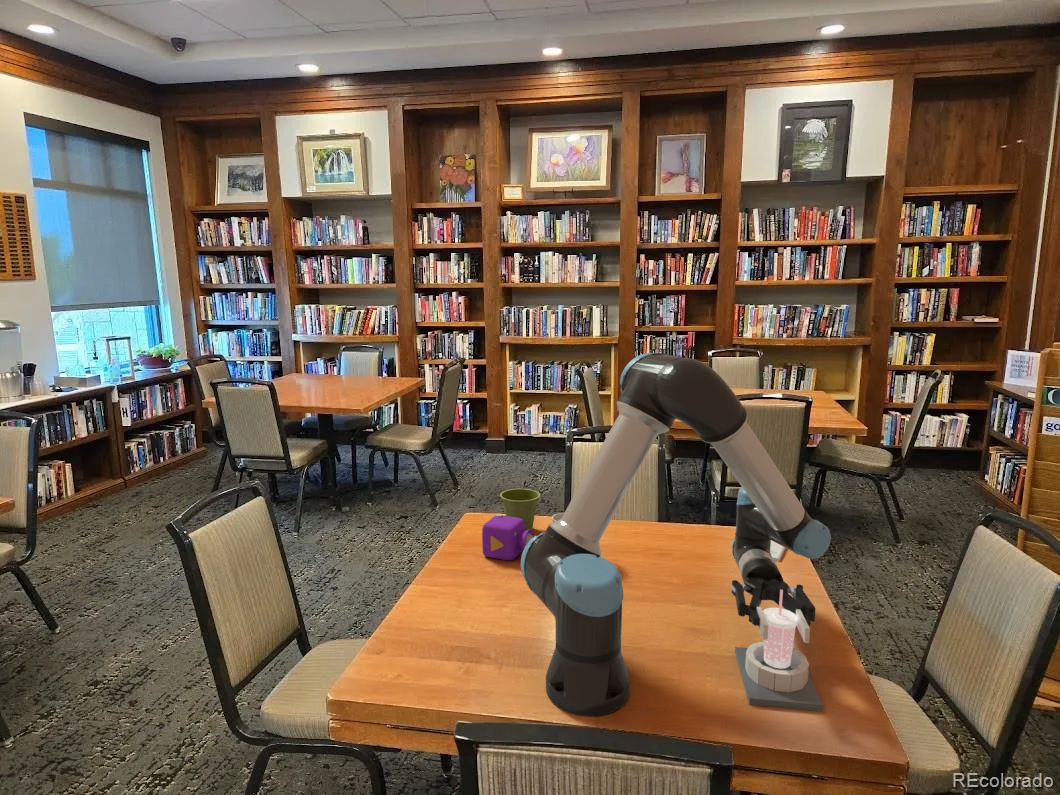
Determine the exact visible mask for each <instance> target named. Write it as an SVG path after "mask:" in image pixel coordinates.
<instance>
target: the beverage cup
mask: <svg viewBox="0 0 1060 795" xmlns="http://www.w3.org/2000/svg"><path fill="white" fill-rule="evenodd" d="M782 597H783V590H782V589H781V590H780V600H779V605H778V607H768V608H765V609H764V610H763V609H762V610H763V613H764V616H765V618H766V621H767V623H768V640H763V642H764V661H765V662H766V663H767V664H768V665H770V666H772V667H774V668H787V667H789V666H790V664H791V656H792V649H793V648H794V642H795V634H796V628H797V625H798V624H797V622H798V617H797V616H796V615H795V614H794V613H793V612H791V611H789V610H786V609H785V608H783V606H782Z"/></svg>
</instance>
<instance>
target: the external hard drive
mask: <svg viewBox="0 0 1060 795" xmlns="http://www.w3.org/2000/svg"><path fill="white" fill-rule="evenodd" d="M785 550H786V548H785V547H783V546H781V545H779V544H778V543H776V542H774V541H772V540H771V547H770V553H771V556H772V558H773V560H774V561H775V562H777V561H779V562H780V560H781V559H782V557H783V555H784V552H785Z"/></svg>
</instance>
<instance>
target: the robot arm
mask: <svg viewBox="0 0 1060 795" xmlns="http://www.w3.org/2000/svg"><path fill="white" fill-rule="evenodd" d="M619 385H620V393H621V394H620V397H619V398H618V400H617V402H616V406H617V409H618V415H617V418H616V419H615V421H614V424H612V427H611V428H610V430H609V432H608V434H607V436H606V437H605V439H604V441H603V443H602V444H601V446H600V448H599V450H598V452H597V454H596V455H595V457H594V458H593V461H592V463H591V464H590V466H589V468H588V470H587V471H586V473H585V475H584V477H583V479H582V481H581V482H580V484H579V486H578V488H577V490H576V491H575V493H574V495H573V496H572V498H571V500H570V502H569V504H568V505H567V507H566V510H565V511H564V512H563V513H564V515H563V517H562V518H561V519H560V520H558V521H555V522H553V521H552V522H550V523H549V524H548V526H547V528H546V529H545V531H544V532H541V533H540V534H538V535H534V537H533V538H532V539H531V540H530V541H529V542H528V543H527V545H526V546H525V548H524V550H523V551H522V552H521V558H520V570H521V575H522V577H523V580H524V581H525V583H526V584H527V586H528V589H529V590H530V591H531V592H532V593H533V594H534V595H535V596H536V597H537V598H538V599H539V600H540V602H541V603H543V605H544V606H545V607H546V608H547V609H548V610H549V612H550V613H551V614H552V615H553V616H554V620H555V646H554V647H555V648H554V650H553V653H552V656H551V660H550V661H549V662H550V663H549V664H548V667H547V670H546V674H545V692H546V695H547V697H548V699H549V700H550V701H551V702H552V703H553V704H554V705H555V706H557V707H558V708H559V709H560V710H562V711H563V710H564V711H565V712H568V713H570V714H574V715H577V716H584V717H585V716H586V717H598V716H605V715H609V714H611V713H614V712H616V711H619V710H620V709H621V708H622V707H623V706H625V705H626V703H627V702H628V701H629V698H630V695H631V679H630V674H629V672H628V668H627V665H626V661H625V659H624V655H623V653H622V622H623V621H622V620H623V599H624V588H623V580H622V579H623V578H622V575H621V572H620V570H619V569H618V567H617V566H616V565H615V564H614V563H613V562H612V561H610V560H609V559H607V558H604V557H602V556H601V555H602V549H601V545H600V542H601V538H602V537H603V536H604V533H605V531H606V530H607V528H608V526H609V524H610V523H611V521H612V518H613V517H614V516H615V513H616V511H617V510H618V508H619V506H620V504H621V503H622V501H623V499H624V497H625V495H626V494H627V492H628V489H629V488H630V486H631V484H632V482H633V481H634V478H635V477H636V476H637V473H638V472H639V470H640V468H641V466H642V465H643V462H644V461H645V459H646V457H647V456H648V453H649V451H650V450H651V448H652V446H653V444H654V442H655V441H656V439H657V437H658V436H659V435H660V434H665V433H668V432H670V430H671V428H672V426H673V424H674V422H675V420H678V421H680V422H681V423H683V424H685V425H687V426H688V427H690V428H691V429H692V430H693V431H694V432H695V433H696V434H697V435H698V437H699V438H700V440H701V441H702V442H704V443H707V444H711V446H712V447H713V449H714V450H715V451H716V452H717V454H718V456H719V457H720V458H721V459H722V461H723V462H724V464H725V465H726V467H727V468H728V469H729V471H730V472H731V474H732V476H734V478H735V479H736V481H737V482H738V483H739V485H740V486H741V487H740V488H739V489H738V492H737V500H736V516H735V517H736V518H735V522H736V523H735V533H734V535H735V536H734V538H733V539H732V542H731V553H732V556H733V559H734V560H735V562H736V565H737V568H738V569H739V570H738V571H739V574H740V576H741V578H742V579H741V580H742V582H743V583H742V582H739V580H734V579H733V580H732V581H731V594H732V595H733V596H734V597H735V602H736V603H735V604H736V608H737V610H736V611H737V614H738V616H739V617H745V616H748V622H749V623H751V624H752V625H753V626H757V627H758V630H759V633H760V635H761V637H762V638H761V639H762V641H764V640H768V623H767V621H766V618H765V616H764V613H763V608H762V607H761V606H760V605H761V604H762V601H773V602H774V603H775V604H777V606H779V600H780V590H781V589H782V590H783V597H782V608H783V609H786V610H789V611H791V612H793V613H794V614H795V615H796V616H797V617H798V622H797V624H798V625H797V626H796V628H797V630H798V633H799V634H800V637H801V639H802V641H803V643H805V644H810V637H811V636H810V634H811V625H812V624H811V623H812V622H813V623H814V622H815V621H816V611H817V610H816V607H815V605H814V604H813V602H812V601H811V599H810V598H809V597H808V596H807V594H806V592H805V591H804V586H803V585H802V584H796V586H789V584H788V583H787V582H785V580H784V577H783V575H782V573H781V571H780V569H779V568H778V566H777V563H776V561H774V560H773V558H772V556H771V553H770V547H771V540H772V541H774V542H776V543H778V544H779V545H781V546H783V547H785V549H787V550H789V551H790V552H792V553H794V554H796V555H797V556H798V555H799V556H801V557H804V558H806V559H809V560H815V559H818V558H821V557H822V556H823V555H824V554H825V553H826V552H827V551H828V549H829V548H830V547H829V546H830V545H831V540H832V537H831V531H830V529H829V527H828V526H826V525H825V523H822V522H820V521H819V520H818V519H814V518H812V516H810V515H809V514H808V512H807V511H806V509H805V508H804V506H803V504H802V503H801V502H800V501H799V498H798V497H797V496H796V494H795V493H794V491H793V490H792V488H791V487H790V485H789V484H788V482H787V481H786V479H785V478H784V476H783V474H782V473H781V472H780V470H779V469H778V467H777V465H776V464H775V463H774V461H773V459H772V457H771V456H770V455H769V453H768V452H767V450H766V449H765V448H764V446H763V444H762V443H761V441H760V440H759V438H758V436H757V435H756V433H755V432H754V431H753V429H752V428H751V427H750V425H749V423H748V422H747V421H748V411H747V410H746V408H745V406H744V405H743V404H742V402H741V400H740V399H739V398H738V397H737V395H736V394H735V392H734V391H733V390H732V388H731V387H730V386H729V384H727V382H726V381H725V380H724V379H723V377H721V376H720V374H718V373H717V371H715V370H714V369H713V368H711V367H710V366H709V365H708V364H706V363H704V362H703V361H700V360H698V359H694V358H687V357H681V356H677V355H670V354H668V353H665V352H648V353H647V352H646V353H643V354H639V355H637V356H635V357H634V358H633V359H631V360H630V361H629V362H628V363H627V364H626V365H625V366H624V369H623V371H622V372H621V375H620V380H619ZM744 593H747V594H748V595H749V594H750V595H751V596H752V597H751V600H750V603H749V604H747V603H746V599H745V594H744Z"/></svg>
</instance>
